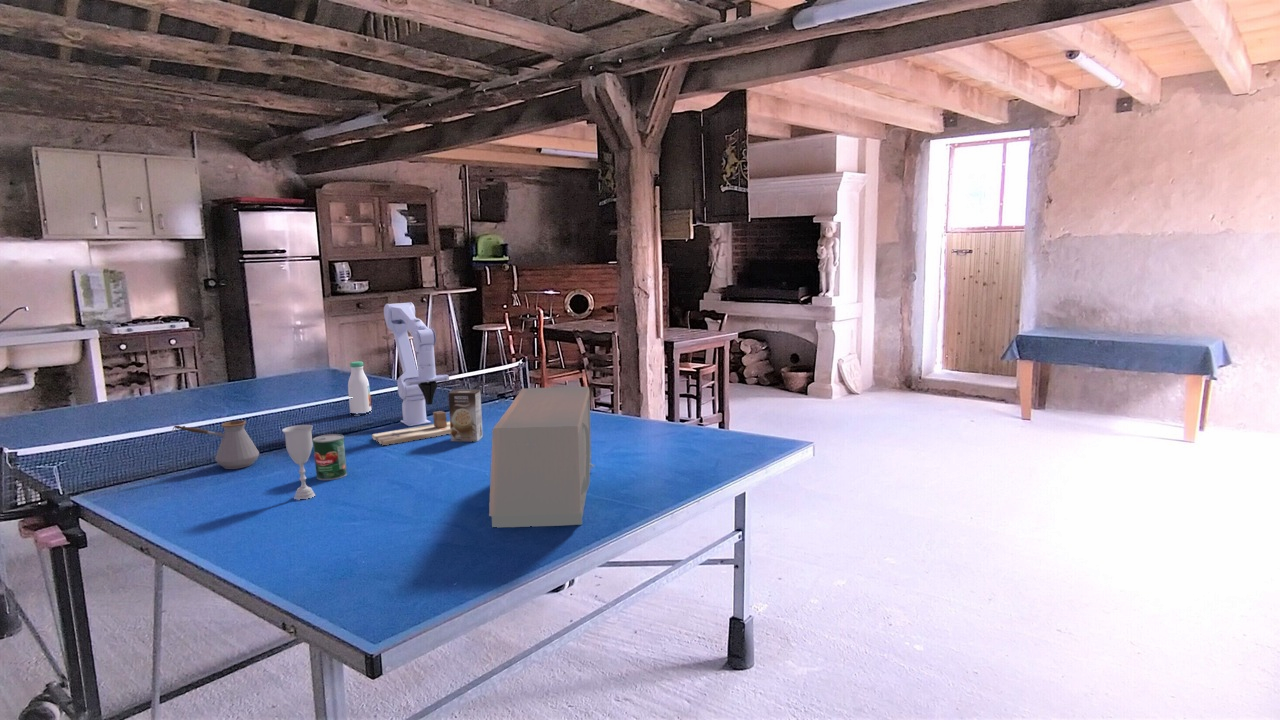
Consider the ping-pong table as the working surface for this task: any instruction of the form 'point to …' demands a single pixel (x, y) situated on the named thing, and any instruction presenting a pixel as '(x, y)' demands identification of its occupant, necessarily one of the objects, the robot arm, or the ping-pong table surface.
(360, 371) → the milk bottle
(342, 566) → the ping-pong table surface
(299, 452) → the chalice
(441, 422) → the fader knob
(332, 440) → the canned tomato
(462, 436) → the coffee box
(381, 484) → the ping-pong table surface
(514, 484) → the vintage radio
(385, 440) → the fader panel
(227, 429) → the coffee pot
